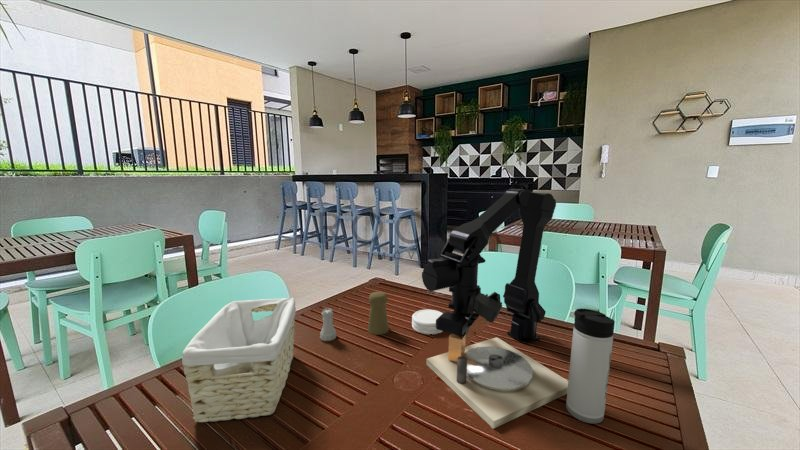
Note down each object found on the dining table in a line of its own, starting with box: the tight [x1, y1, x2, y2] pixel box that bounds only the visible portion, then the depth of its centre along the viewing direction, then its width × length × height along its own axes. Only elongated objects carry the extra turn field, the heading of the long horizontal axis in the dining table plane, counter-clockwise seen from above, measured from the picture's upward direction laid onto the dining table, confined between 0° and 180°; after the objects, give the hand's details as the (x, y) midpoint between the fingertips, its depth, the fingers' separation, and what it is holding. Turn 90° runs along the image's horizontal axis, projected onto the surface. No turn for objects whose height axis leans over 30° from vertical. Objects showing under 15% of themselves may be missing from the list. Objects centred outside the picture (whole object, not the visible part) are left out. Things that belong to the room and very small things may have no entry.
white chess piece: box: [319, 307, 337, 342], centre depth 89 cm, size 4×4×8 cm
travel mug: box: [565, 308, 616, 425], centre depth 60 cm, size 6×7×20 cm
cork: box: [367, 291, 390, 336], centre depth 93 cm, size 6×6×11 cm
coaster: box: [411, 309, 444, 335], centre depth 96 cm, size 10×10×4 cm
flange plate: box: [447, 333, 533, 392], centre depth 73 cm, size 18×15×6 cm
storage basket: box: [181, 297, 297, 423], centre depth 69 cm, size 24×16×15 cm
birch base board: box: [426, 336, 569, 430], centre depth 72 cm, size 22×22×6 cm
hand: (462, 343), depth 79 cm, fingers closed
